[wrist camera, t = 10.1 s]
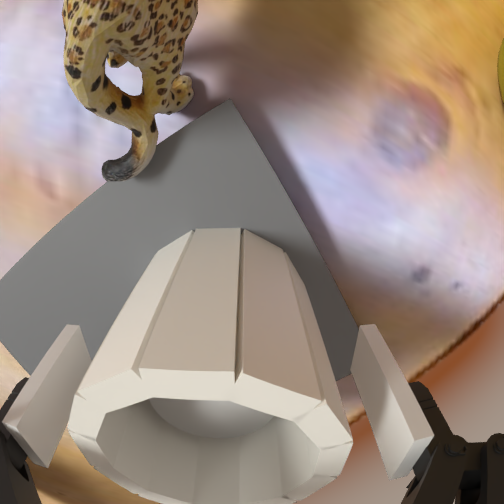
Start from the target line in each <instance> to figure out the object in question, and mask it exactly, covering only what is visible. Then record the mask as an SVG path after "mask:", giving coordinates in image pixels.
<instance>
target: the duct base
mask: <svg viewBox="0 0 504 504" xmlns="http://www.w3.org/2000/svg"><path fill="white" fill-rule="evenodd" d="M205 228H241V234H242V232H243V231H244V229H246V230H248V231H250V232H251V233H253V234H255V235H257V236H259V237H261V238H263V239H265V240H266V241H268V242H270V243H272V244H274V245H276V246H278V247H280V248H281V249H283V252H286V254H287V255H288V257H289V259H290V260H291V262H292V264H293V266H294V267H295V269H296V271H297V272H298V274H299V276H300V278H301V279H302V281H303V283H304V284H305V287H306V290H307V293H308V296H309V299H310V302H311V305H312V308H313V311H314V314H315V317H316V320H317V324H318V327H319V330H320V333H321V336H322V339H323V342H324V345H325V348H326V352H327V355H328V358H329V361H330V364H331V368H332V371H333V374H334V377H335V381H337V380H339V379H341V378H343V377H345V376H348V375H350V374H352V373H351V370H350V369H351V365H352V360H353V356H354V351H355V347H356V342H357V337H358V332H359V329H358V327H357V325H356V323H355V321H354V319H353V317H352V315H351V313H350V310H349V308H348V307H347V305H346V303H345V301H344V299H343V297H342V295H341V293H340V291H339V289H338V287H337V285H336V283H335V281H334V279H333V277H332V275H331V273H330V271H329V269H328V268H327V266H326V264H325V262H324V260H323V258H322V256H321V254H320V252H319V251H318V249H317V247H316V245H315V243H314V241H313V239H312V238H311V236H310V234H309V232H308V230H307V228H306V227H305V225H304V223H303V221H302V219H301V217H300V216H299V214H298V212H297V210H296V209H295V207H294V205H293V203H292V201H291V200H290V198H289V196H288V194H287V193H286V191H285V189H284V187H283V186H282V184H281V182H280V180H279V179H278V177H277V175H276V174H275V172H274V170H273V168H272V167H271V165H270V163H269V162H268V160H267V158H266V156H265V155H264V153H263V151H262V150H261V148H260V146H259V145H258V143H257V141H256V140H255V138H254V137H253V135H252V133H251V132H250V130H249V128H248V127H247V125H246V123H245V122H244V120H243V119H242V117H241V115H240V114H239V112H238V111H237V109H236V107H235V106H234V104H233V103H232V101H231V99H229V100H227V101H225V102H223V103H222V104H220V105H218V106H217V107H215V108H213V109H212V110H210V111H208V112H207V113H205V114H204V115H202V116H200V117H199V118H197V119H196V120H194V121H192V122H191V123H189V124H188V125H186V126H185V127H183V128H182V129H180V130H178V131H177V132H175V133H174V134H172V135H171V136H169V137H168V138H166V139H165V140H164V141H162V142H161V143H159V144H158V145H156V150H155V153H154V155H153V157H152V159H151V161H150V162H149V164H148V165H147V166H146V167H145V168H144V169H143V170H142V171H141V172H140V173H139V174H138V175H137V176H134V177H132V178H130V179H128V180H126V181H108V182H106V183H105V184H104V185H103V186H101V187H100V188H99V189H98V190H96V191H95V192H94V193H93V194H92V195H90V196H89V197H88V198H87V199H85V200H84V201H83V202H82V203H81V204H80V205H78V206H77V207H76V208H75V209H74V210H73V211H71V212H70V213H69V214H68V215H67V216H66V217H65V218H63V219H62V220H61V221H60V222H59V223H58V224H57V225H56V226H54V227H53V228H52V229H51V230H50V231H49V232H48V233H47V234H46V235H45V236H44V237H43V238H42V239H40V240H39V241H38V242H37V243H36V244H35V245H34V246H33V247H32V248H31V249H30V250H29V251H28V252H27V253H26V254H25V255H24V256H23V257H22V258H21V259H20V260H19V261H18V262H17V263H16V264H15V265H14V266H13V267H12V268H11V269H10V270H9V271H8V272H7V273H6V275H5V276H4V277H3V278H2V279H1V280H0V341H1V343H2V344H3V345H4V346H5V347H6V349H7V350H8V351H9V352H10V353H11V355H12V356H13V357H14V358H15V359H16V360H17V361H18V363H19V364H20V365H21V366H22V367H23V368H24V369H25V370H26V371H27V372H28V373H29V375H30V376H31V375H32V373H33V372H34V370H35V369H36V367H37V366H38V364H39V363H40V361H41V360H42V358H43V357H44V356H45V354H46V353H47V351H48V350H49V348H50V347H51V346H52V344H53V343H54V341H55V340H56V339H57V337H58V336H59V334H60V333H61V332H62V330H63V329H64V328H65V326H66V325H67V324H68V325H79V326H80V329H81V332H82V335H83V338H84V341H85V344H86V347H87V350H88V352H89V355H90V358H91V361H92V360H93V358H94V357H95V355H96V353H97V351H98V349H99V348H100V346H101V344H102V342H103V340H104V339H105V337H106V335H107V333H108V332H109V330H110V328H111V326H112V325H113V323H114V321H115V319H116V318H117V316H118V314H119V313H120V311H121V309H122V307H123V306H124V304H125V302H126V301H127V299H128V297H129V296H130V294H131V292H132V291H133V289H134V287H135V286H136V284H137V283H138V281H139V279H140V278H141V276H142V274H143V273H144V271H145V270H146V268H147V266H148V265H149V263H150V262H151V260H152V259H153V257H154V255H155V254H156V253H157V252H158V251H159V250H160V249H162V248H163V247H165V246H167V245H168V244H170V243H172V242H173V241H175V240H176V239H178V238H180V237H181V236H183V235H185V234H186V233H188V232H190V231H191V230H193V231H194V232H195V230H196V229H205ZM149 400H150V402H151V405H152V406H153V408H154V409H155V411H156V412H157V413H158V414H159V415H160V416H161V417H162V418H163V419H164V420H165V421H166V422H168V423H169V424H171V425H172V426H174V427H176V428H178V429H180V430H182V431H184V432H187V433H190V434H193V435H197V436H201V437H207V438H233V437H239V436H243V435H246V434H249V433H252V432H254V431H256V430H258V429H260V428H261V427H263V426H264V425H266V424H267V423H268V422H269V421H270V420H271V419H272V418H273V415H270V414H267V413H264V412H261V411H258V410H255V409H252V408H249V407H246V406H243V405H240V404H237V403H234V402H231V401H216V400H187V399H170V398H156V397H153V398H150V399H149Z"/></svg>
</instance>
